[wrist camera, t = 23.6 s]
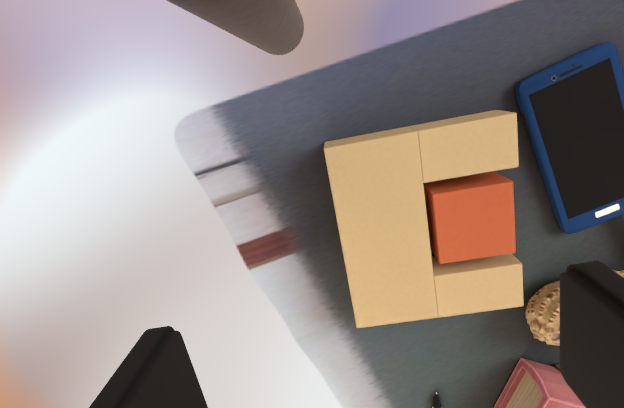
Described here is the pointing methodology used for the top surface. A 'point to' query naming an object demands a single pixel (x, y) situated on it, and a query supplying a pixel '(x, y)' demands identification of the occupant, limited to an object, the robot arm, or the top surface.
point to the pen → (436, 401)
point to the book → (537, 388)
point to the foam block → (470, 217)
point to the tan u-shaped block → (417, 218)
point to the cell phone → (579, 135)
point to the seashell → (547, 313)
